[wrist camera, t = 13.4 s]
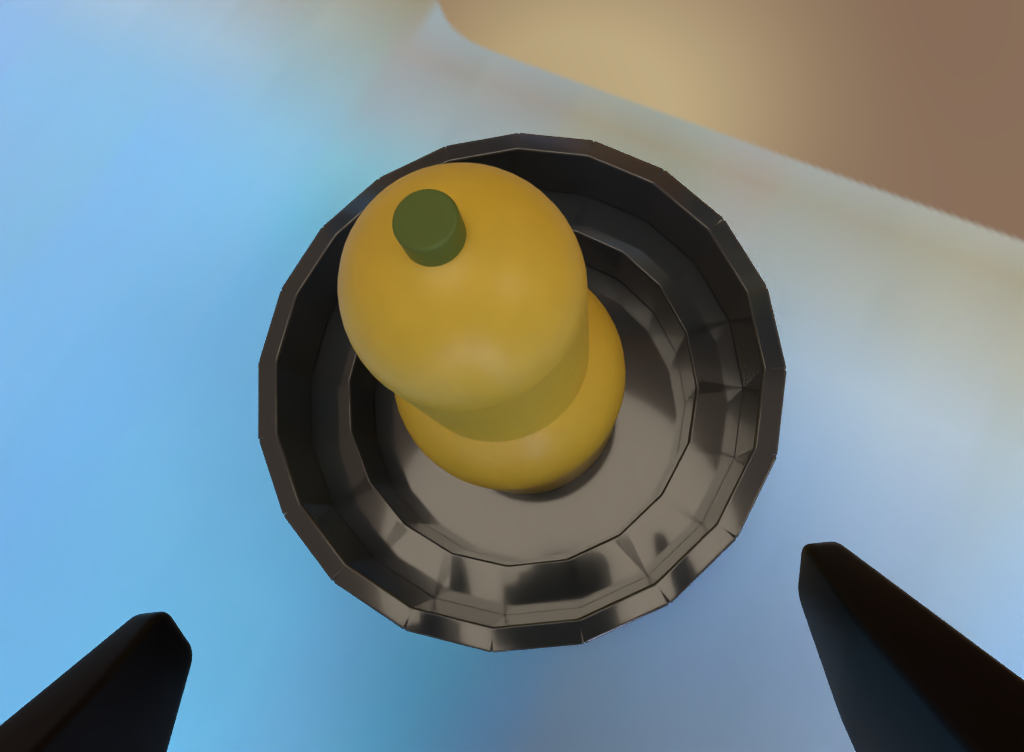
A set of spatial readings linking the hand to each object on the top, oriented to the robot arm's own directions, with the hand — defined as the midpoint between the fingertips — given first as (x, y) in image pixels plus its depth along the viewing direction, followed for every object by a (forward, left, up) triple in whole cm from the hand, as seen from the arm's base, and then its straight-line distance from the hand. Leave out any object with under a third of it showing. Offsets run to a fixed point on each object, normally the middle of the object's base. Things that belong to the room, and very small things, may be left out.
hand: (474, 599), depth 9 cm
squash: (+5, 0, -12) cm, 13 cm away
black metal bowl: (+5, 0, -12) cm, 14 cm away
